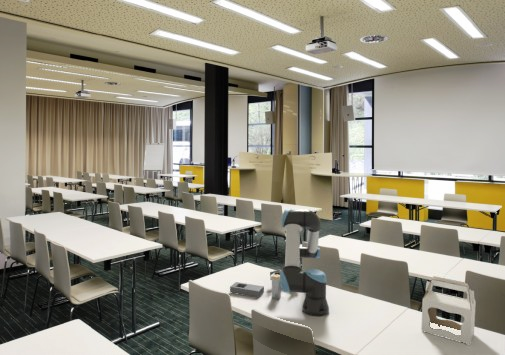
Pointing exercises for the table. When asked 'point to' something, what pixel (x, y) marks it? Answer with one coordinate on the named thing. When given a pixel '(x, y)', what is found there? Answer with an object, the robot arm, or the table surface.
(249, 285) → the grey rectangular block
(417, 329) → the table surface
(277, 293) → the steel peg
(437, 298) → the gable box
